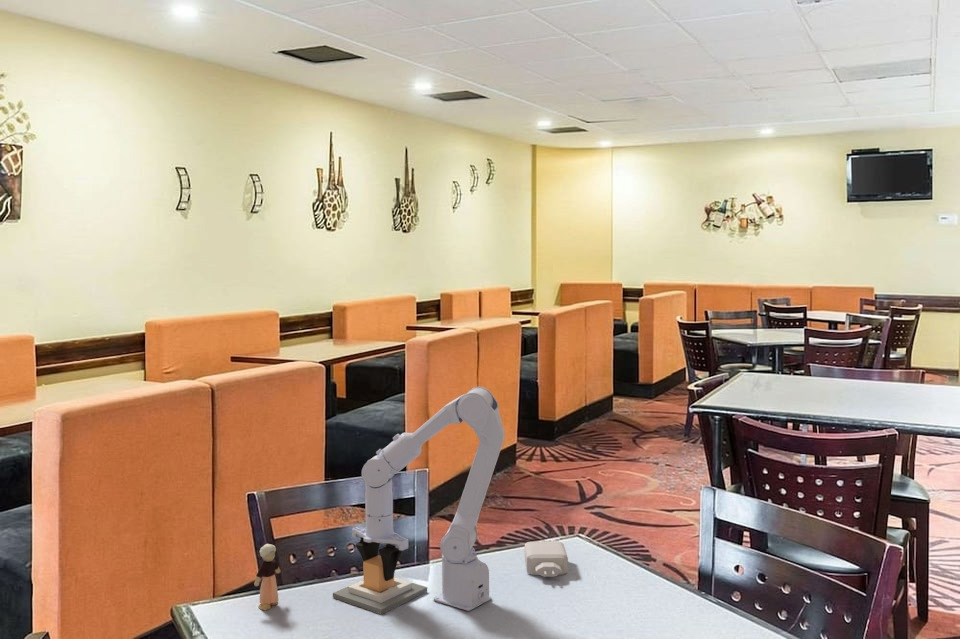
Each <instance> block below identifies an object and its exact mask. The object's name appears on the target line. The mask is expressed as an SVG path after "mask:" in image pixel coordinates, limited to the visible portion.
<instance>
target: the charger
mask: <svg viewBox="0 0 960 639" xmlns="http://www.w3.org/2000/svg"><path fill="white" fill-rule="evenodd" d="M524 563H525V569H526V572H527V574H529V575H532V576H541V577H543V578H546V577H547V578H550V577H553V578H554V577H556V576H563V575H566V574H568V572H569V556H568V554H567V550H566V547H565V545H564V543H563V542H561V541H555V540H554V541H551V540H550V541H549V540H548V541H527V542H525V544H524Z"/></svg>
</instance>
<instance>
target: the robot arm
mask: <svg viewBox="0 0 960 639" xmlns="http://www.w3.org/2000/svg"><path fill="white" fill-rule="evenodd" d="M501 416H502V415H501V413H500V406H499V401H497V399H496V398H495V396H494V394H493V393H492V392H491V391H490V389H488V388H486V387H483V386H474V387H472V388H471V389H469V390H468V391H467V393H464V394H462V395H460V396H458V397H456V398H455V399H453V400H451V401H450V402H448V403H447V404H445V405H444V406H443V407H441V409H440V410H438V411H437V412H436V413H435V414H434V415H433V416H432V417H430V418H429V419H428V420H426V421H425V422H424V423H423V424H422V425H421V426H419V428H417V429H416V430H415V431H414V432H402V433H401V434H400V433H397V434H395V435H394V436H393V437H392V441H391V442H390V443H389V444H388V445H387V446H385V447H384V448H379V449H378V450H376V452H375V454H376V455H374V456H373V457H372V458H370V459H368V460H367V461H366V462H365V463H364V464H363V467H362V469H361V478H362V481H363V482H364V483H365V486H364V487H365V493H364V494H365V495H364V496H365V497H364V501H365V527H362V526H356V527H353V528H352V529H351V537H352V538H354V539H357V538H358V539H360V540H359V541H358V542H356V543H355V547H356V549H357V550H358V552H359V554H360V556H361V558H362V562H364V561H366V560H369V559H371V558H373V557H376V556H378V554H380V555H379V556H381V559H382V563H383V574H384V579H385V581H389V580H391V579H393V577H395V572H396V569H397V565H398V561H399V560H400V557H401V554H402V552H403V551H405V550H408V549H409V539H408V538H405V537H403V536H401V535H399V534H398V533H396V531H394V499H393V498H394V497H393V496H394V495H393V494H394V493H393V479H392V478H393V477H394V476H395V474H396V473H399V472H400V471H402V470H403V469H404V468H405V467H407V466H408V465H409V464H410V463H412V462H413V461H414V460H415V459H416V458H418V457H419V456H420V455H421V454H422V447H423V444H425V443H426V442H427V441H429V440H430V439H431V438H433V437H434V436H435V435H437V434H438V433H439V432H440V431H442V430H443V429H444V428H446V427H447V426H448V425H452V424H453V425H457V424H458V425H459V424H462V422H464V423H465V424H467V426H469V427H470V428H471V429H472V431H474V433H475V435H476V437H477V438H478V440H479V442H478V445H477V449H476V450H475V452H476V453H475V455H474V458H473V462H472V464H471V466H470V470H469V473H468V476H467V480H466V482H465V484H464V485H465V486H464V488H463V491H462V494H461V498H460V500H459V503H458V506H457V510H456V512H455V515H454V518H453V519H452V522H451V524H450V525H449V527H448V530H447V532H446V533H445V535H443V537H442V538H441V540H440V542H439V549H440V553H441V576H442V577H441V579H442V581H441V585H442V588H441V589H442V590H441V592H442V593H440V594H438V595H436V596H434V597H433V601H436V602H438V603H441V604H445V605H447V606H451V607H455V608H457V609H461V610H463V611H467V612H470V611H471V610H473V609H476V608H477V607H479V606H480V605H483V604H484V603H486V602H488V601H490V600H491V599H492V596H491V595H490V572H489V571H490V569H489V567H488V565H487V564H486V563H485V562H483V561H481V560H480V559H479V558H478V557H477V556H478V554H477V552H476V550H475V548H474V547H473V546H474V544H476V541H477V540H478V529H477V525H478V521H479V516H480V513H481V509H482V507H483V503H484V501H485V497H486V494H487V492H488V489H489V486H490V483H491V480H492V476H493V473H494V470H495V468H496V465H497V461H498V459H499V456H500V453H501V450H502V447H503V443H504V441H505V438H506V437H505V435H506V432H505V428H504V425H503V420H502V417H501ZM380 544H381V545H384V547H382V548H380Z"/></svg>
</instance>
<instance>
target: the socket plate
mask: <svg viewBox="0 0 960 639" xmlns="http://www.w3.org/2000/svg"><path fill="white" fill-rule="evenodd" d="M427 592H428V586H424V585H421V584H418V583H414V582H411V581H408V580H405V579H402V578H397V577H395V576H394V586H392V587H389V588H387V589H385V590H383V591H381V592H377V591H374V590H370V589H367V588H364V579H362V580H359V581H358V582H355V583H353V584H351V585H348V586H345V587H344V588H341V589H339V590H337V591H334V592H332V598H333V599H335V600H338V601H341V602H344V603H347V604H350V605H353V606H355V607H358V608H361V609H363V610H366V611H367V610H368V611H370V612H374V613H377V614H379V615H383V614H386V613H387V612H389V611H392V610H393V609H395V608H397V607H399V606H401V605H403V604H405V603H407V602H409V601H411V600H413V598H414V599H416V598H418V597H420V596H422V595H424V594H426V593H427ZM419 595H420V596H419ZM417 596H418V597H417ZM415 597H416V598H415Z"/></svg>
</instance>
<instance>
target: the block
mask: <svg viewBox="0 0 960 639" xmlns="http://www.w3.org/2000/svg"><path fill="white" fill-rule="evenodd" d="M362 562H363V564H362V567H363V568H362V570H363V574H362V575H363V580H364V588H367V589H370V590H374V591H377V592H381V591H383V590H385V589H387V588H389V587H392V586H394V577H395V576H394V577H393V579H391V580H389V581H385V579H384V574H383V563H382V559H381V556H380V555H378V556H376V557H373V558H371V559H369V560H366V561H362Z"/></svg>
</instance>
